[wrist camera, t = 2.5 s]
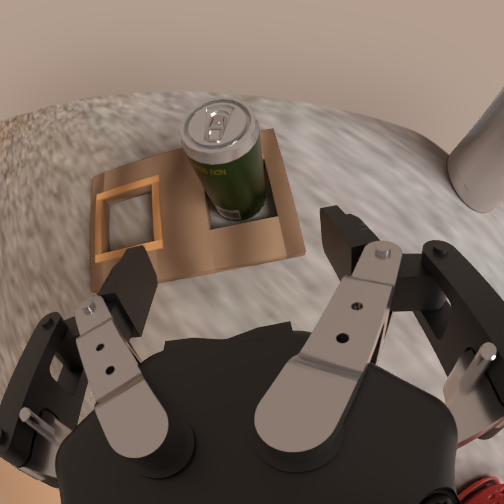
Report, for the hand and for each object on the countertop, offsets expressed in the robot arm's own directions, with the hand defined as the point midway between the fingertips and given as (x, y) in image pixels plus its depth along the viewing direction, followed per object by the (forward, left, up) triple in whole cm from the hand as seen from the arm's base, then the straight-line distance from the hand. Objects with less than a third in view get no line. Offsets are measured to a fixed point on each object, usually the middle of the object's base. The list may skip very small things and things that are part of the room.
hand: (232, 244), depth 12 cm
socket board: (+6, -9, -14) cm, 18 cm away
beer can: (0, -9, -14) cm, 17 cm away
